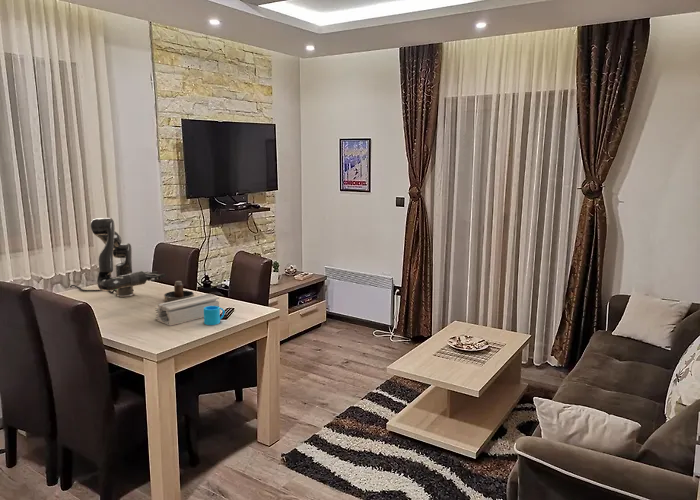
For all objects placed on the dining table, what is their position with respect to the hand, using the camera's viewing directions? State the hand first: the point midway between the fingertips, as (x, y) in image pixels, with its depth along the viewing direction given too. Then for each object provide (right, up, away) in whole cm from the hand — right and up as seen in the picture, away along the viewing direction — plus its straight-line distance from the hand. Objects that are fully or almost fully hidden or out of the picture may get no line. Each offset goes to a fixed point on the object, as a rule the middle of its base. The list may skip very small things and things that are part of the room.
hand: (161, 274), depth 298 cm
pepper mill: (+7, -16, +11) cm, 20 cm away
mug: (+40, -24, -29) cm, 55 cm away
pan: (+7, -16, +12) cm, 21 cm away
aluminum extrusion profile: (+23, -22, -21) cm, 38 cm away
